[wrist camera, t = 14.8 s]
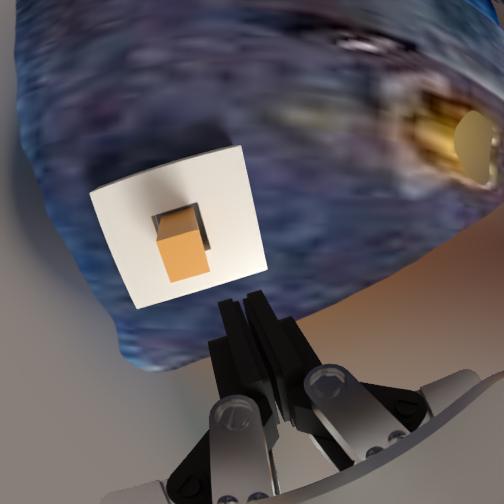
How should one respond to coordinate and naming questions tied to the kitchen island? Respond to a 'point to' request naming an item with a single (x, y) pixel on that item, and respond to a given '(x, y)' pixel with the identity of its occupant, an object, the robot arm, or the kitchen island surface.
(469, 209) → the kitchen island surface
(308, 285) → the kitchen island surface
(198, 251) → the plug
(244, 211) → the socket block
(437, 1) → the kitchen island surface
